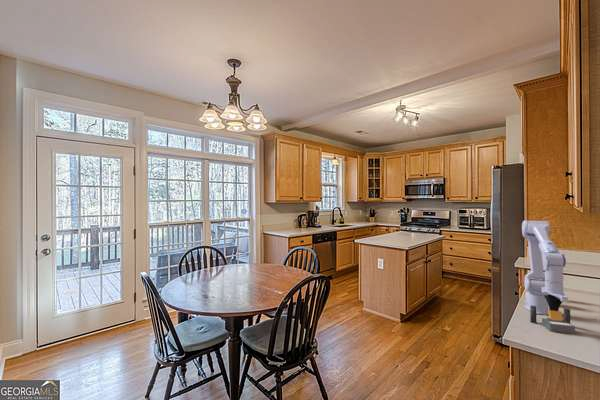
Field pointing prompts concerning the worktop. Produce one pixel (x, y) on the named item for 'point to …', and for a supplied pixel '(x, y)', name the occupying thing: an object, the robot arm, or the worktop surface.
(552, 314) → the breaker paddle
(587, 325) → the worktop surface
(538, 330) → the worktop surface
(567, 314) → the cylinder
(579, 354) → the worktop surface
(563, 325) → the breaker box
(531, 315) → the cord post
